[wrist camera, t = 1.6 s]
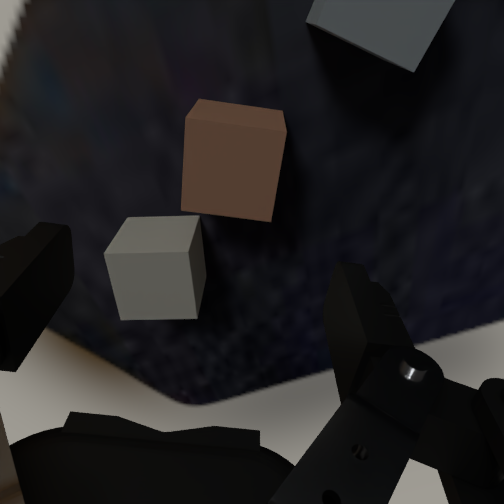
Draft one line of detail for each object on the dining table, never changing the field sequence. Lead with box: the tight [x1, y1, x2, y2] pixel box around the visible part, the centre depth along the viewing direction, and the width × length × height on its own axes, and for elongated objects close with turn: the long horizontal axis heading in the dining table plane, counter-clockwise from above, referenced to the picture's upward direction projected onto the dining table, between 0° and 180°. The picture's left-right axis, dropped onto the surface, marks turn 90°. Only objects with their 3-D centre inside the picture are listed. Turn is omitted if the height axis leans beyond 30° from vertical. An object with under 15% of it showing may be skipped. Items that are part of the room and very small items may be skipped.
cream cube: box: [104, 216, 206, 320], centre depth 27 cm, size 5×5×5 cm
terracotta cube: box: [181, 99, 287, 222], centre depth 24 cm, size 5×5×5 cm
